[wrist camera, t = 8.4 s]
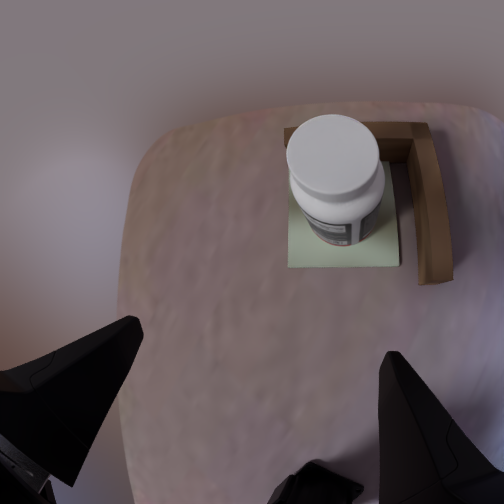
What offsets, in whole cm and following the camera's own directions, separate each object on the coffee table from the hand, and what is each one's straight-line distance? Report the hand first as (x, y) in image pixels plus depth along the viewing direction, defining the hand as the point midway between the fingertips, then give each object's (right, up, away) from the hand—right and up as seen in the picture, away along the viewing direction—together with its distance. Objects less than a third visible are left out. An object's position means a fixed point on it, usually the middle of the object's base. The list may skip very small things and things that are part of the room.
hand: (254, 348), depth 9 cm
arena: (+9, +7, +12) cm, 16 cm away
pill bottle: (+7, +6, +13) cm, 16 cm away
